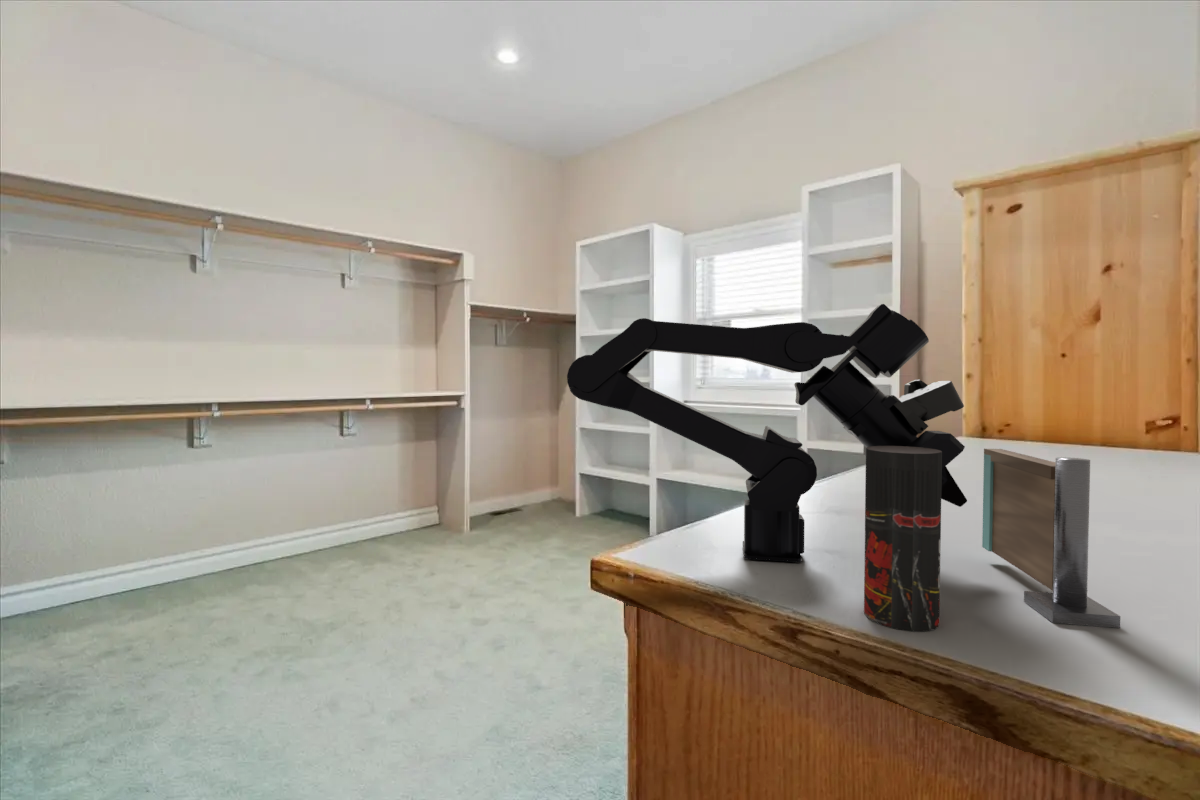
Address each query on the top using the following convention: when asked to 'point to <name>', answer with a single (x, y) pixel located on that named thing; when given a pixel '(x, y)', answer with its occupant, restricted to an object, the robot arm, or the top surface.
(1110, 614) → the hinge post
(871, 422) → the robot arm
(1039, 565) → the gate
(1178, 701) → the top surface
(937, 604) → the deodorant
